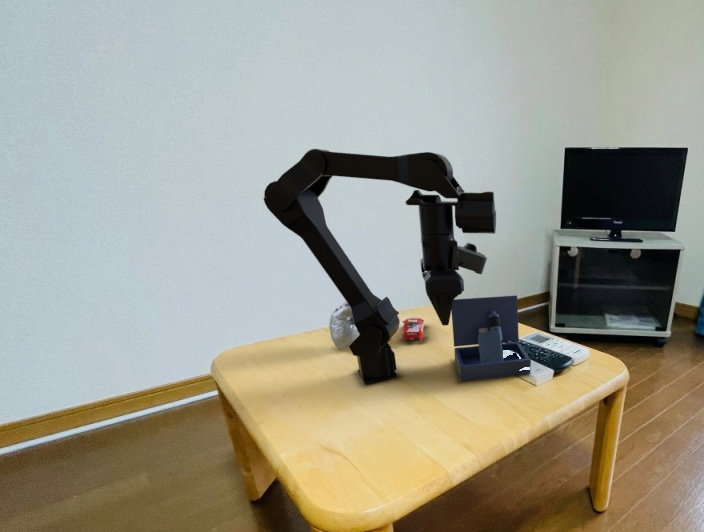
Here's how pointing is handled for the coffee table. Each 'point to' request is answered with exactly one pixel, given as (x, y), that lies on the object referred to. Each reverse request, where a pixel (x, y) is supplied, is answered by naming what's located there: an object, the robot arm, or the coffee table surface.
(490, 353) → the vaping device
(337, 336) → the heart
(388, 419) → the coffee table surface
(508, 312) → the lid
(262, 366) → the coffee table surface
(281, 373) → the coffee table surface
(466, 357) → the box
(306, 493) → the coffee table surface
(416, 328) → the race car
